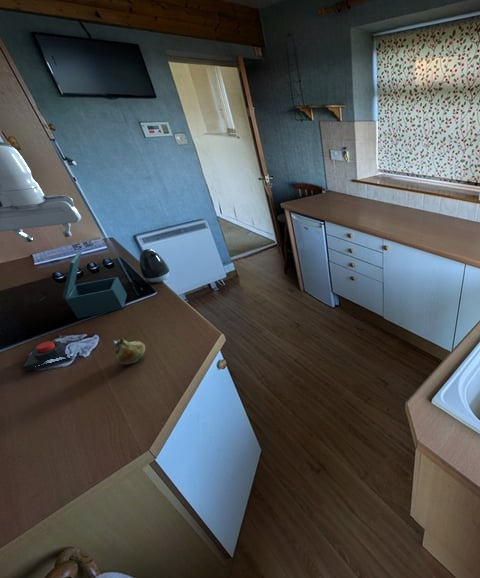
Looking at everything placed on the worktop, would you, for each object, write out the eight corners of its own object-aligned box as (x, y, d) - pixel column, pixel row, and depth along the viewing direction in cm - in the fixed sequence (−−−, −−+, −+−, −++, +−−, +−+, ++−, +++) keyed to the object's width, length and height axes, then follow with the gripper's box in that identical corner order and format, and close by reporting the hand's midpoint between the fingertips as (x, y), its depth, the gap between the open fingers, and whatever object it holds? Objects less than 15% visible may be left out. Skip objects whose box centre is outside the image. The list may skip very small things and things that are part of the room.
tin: (127, 294, 124) (117, 276, 120) (123, 308, 116) (112, 289, 111) (85, 303, 118) (73, 285, 114) (77, 318, 110) (64, 299, 105)
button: (37, 354, 89) (34, 350, 88) (41, 347, 91) (38, 343, 90) (53, 350, 90) (50, 346, 89) (57, 343, 93) (54, 339, 92)
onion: (116, 372, 88) (103, 353, 83) (123, 355, 94) (111, 336, 90) (146, 365, 90) (135, 345, 86) (151, 348, 97) (141, 330, 92)
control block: (27, 371, 88) (18, 362, 85) (37, 355, 93) (29, 346, 91) (71, 359, 92) (64, 350, 90) (78, 344, 98) (71, 335, 96)
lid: (81, 251, 110) (78, 250, 110) (73, 263, 102) (70, 262, 101) (74, 284, 114) (71, 283, 113) (65, 298, 105) (62, 298, 105)
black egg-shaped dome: (157, 287, 130) (142, 256, 122) (140, 282, 133) (125, 252, 125) (177, 276, 138) (165, 247, 130) (162, 273, 141) (149, 243, 133)
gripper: (71, 191, 99) (91, 230, 106) (-18, 199, 90) (11, 241, 97) (66, 195, 95) (88, 236, 102) (-28, 203, 85) (3, 247, 92)
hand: (50, 238), depth 99 cm, fingers open, 8 cm apart
